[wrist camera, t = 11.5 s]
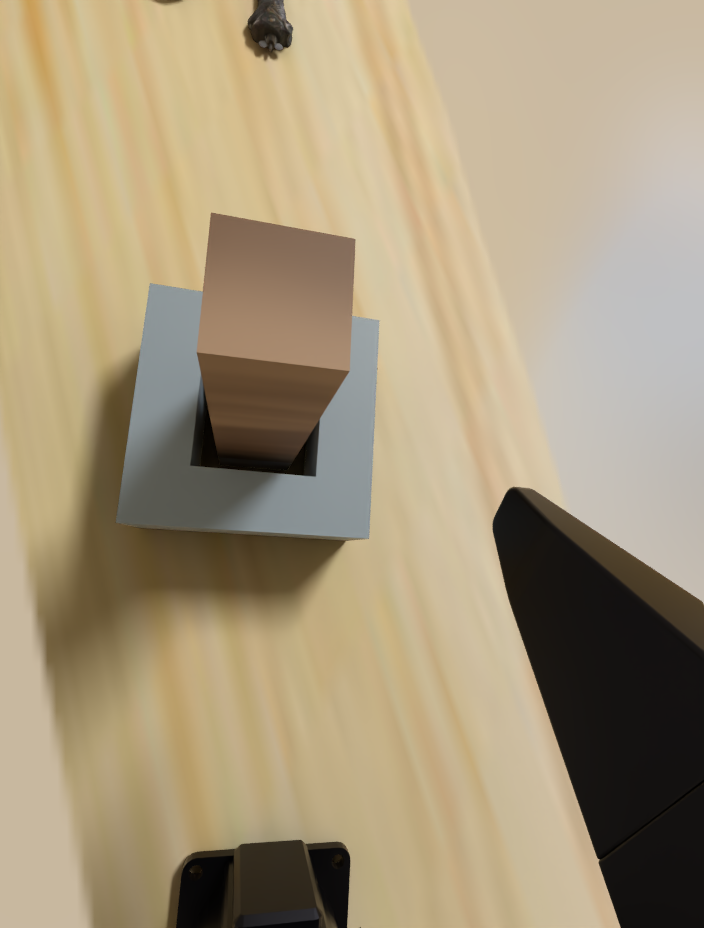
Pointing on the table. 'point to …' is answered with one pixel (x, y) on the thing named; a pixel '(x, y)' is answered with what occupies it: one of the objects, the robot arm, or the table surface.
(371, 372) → the holder
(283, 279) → the tan rectangular block
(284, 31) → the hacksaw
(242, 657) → the table surface
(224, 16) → the table surface
